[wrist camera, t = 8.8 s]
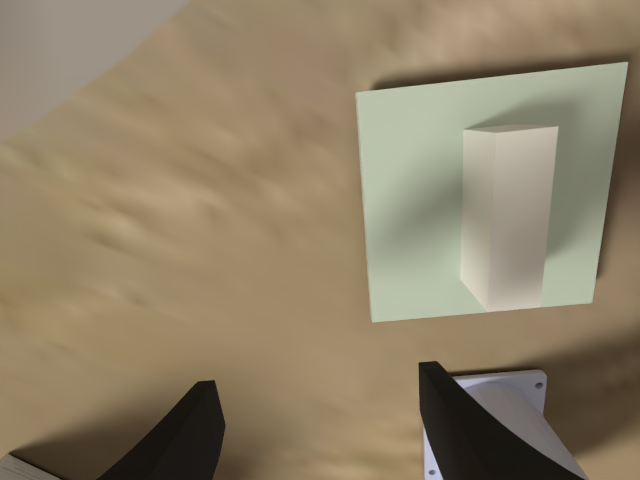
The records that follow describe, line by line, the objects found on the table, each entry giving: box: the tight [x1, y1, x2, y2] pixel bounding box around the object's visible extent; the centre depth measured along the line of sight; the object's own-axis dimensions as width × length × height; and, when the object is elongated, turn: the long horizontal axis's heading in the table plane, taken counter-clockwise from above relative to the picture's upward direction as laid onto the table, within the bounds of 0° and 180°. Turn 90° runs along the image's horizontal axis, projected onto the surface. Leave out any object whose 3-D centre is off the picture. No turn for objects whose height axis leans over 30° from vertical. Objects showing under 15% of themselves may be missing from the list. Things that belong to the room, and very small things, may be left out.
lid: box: [355, 62, 628, 322], centre depth 18 cm, size 12×12×5 cm
